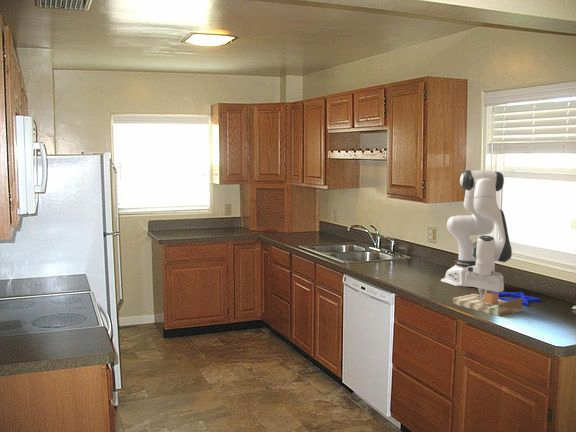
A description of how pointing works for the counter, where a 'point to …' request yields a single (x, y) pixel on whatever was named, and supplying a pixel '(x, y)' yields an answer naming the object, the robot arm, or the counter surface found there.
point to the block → (491, 297)
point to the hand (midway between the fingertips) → (483, 297)
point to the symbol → (518, 295)
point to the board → (489, 305)
